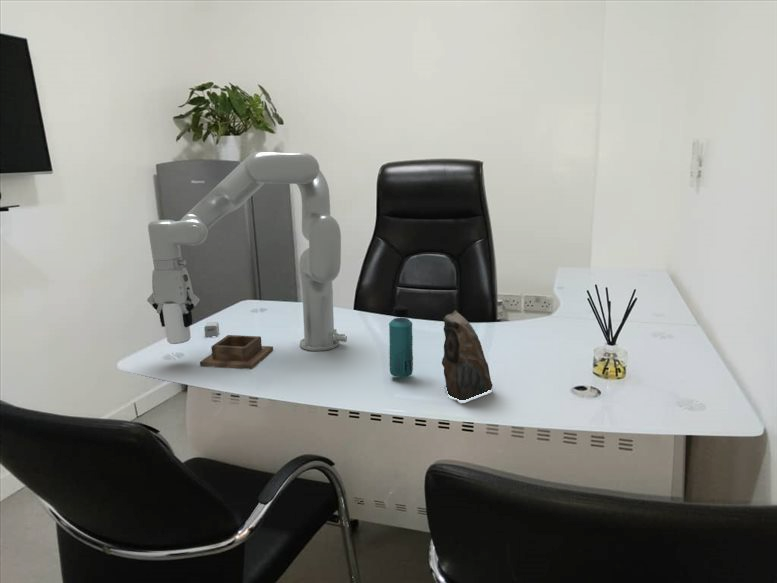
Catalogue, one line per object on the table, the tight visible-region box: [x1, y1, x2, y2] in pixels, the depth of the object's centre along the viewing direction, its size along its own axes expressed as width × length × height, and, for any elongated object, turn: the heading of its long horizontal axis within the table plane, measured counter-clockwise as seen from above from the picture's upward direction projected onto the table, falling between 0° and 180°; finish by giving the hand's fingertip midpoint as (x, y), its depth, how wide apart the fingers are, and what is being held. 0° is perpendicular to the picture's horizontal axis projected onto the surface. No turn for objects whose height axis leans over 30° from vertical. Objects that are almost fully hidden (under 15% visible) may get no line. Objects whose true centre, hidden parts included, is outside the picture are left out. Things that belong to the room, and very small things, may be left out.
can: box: [162, 303, 192, 345], centre depth 156 cm, size 6×6×12 cm
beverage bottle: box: [388, 305, 414, 378], centre depth 145 cm, size 6×7×20 cm
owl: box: [441, 310, 493, 400], centre depth 136 cm, size 13×13×20 cm
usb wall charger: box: [203, 321, 220, 338], centre depth 186 cm, size 4×7×4 cm, turn 9°
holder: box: [199, 334, 274, 370], centre depth 163 cm, size 16×16×5 cm
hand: (176, 324), depth 156 cm, fingers closed on can, 6 cm apart
